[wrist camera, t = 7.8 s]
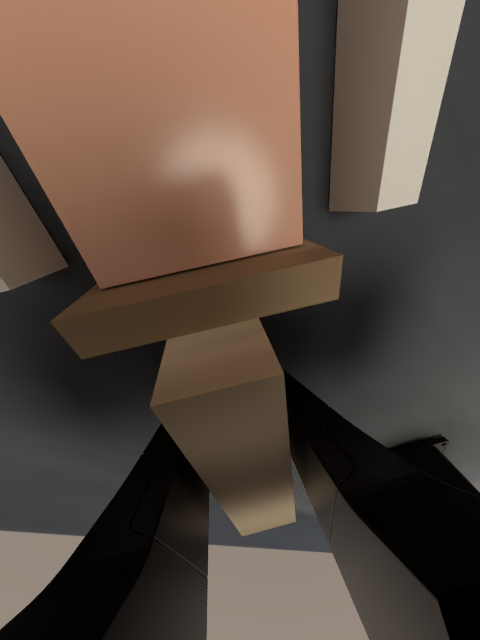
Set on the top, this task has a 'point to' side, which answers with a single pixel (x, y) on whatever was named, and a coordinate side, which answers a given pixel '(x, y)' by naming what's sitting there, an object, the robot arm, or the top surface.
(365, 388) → the top surface
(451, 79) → the top surface
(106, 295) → the scraper
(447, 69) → the corral
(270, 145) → the tile
